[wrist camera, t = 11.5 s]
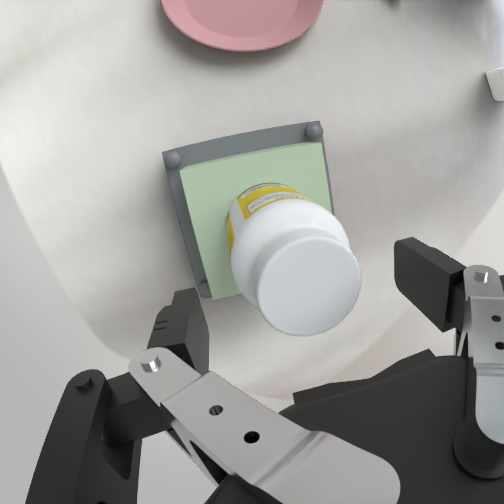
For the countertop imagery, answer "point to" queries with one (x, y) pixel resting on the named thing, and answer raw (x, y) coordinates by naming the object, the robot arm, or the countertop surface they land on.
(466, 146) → the countertop surface
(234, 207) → the supplement bottle
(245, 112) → the countertop surface
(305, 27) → the plate
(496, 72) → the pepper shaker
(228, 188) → the sponge in grey tray
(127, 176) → the countertop surface
